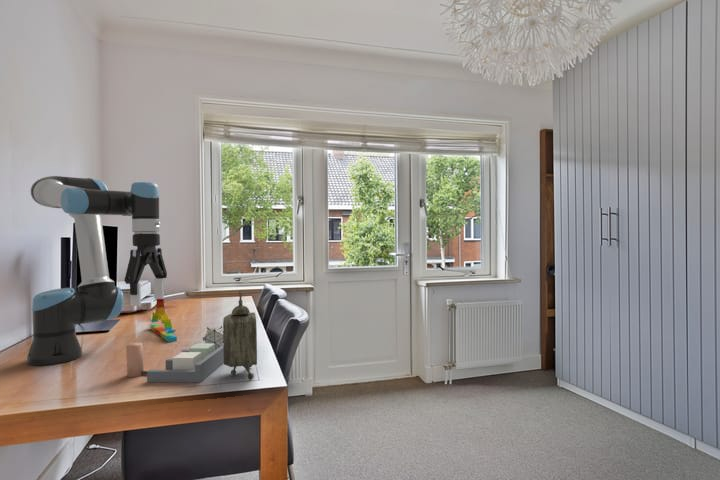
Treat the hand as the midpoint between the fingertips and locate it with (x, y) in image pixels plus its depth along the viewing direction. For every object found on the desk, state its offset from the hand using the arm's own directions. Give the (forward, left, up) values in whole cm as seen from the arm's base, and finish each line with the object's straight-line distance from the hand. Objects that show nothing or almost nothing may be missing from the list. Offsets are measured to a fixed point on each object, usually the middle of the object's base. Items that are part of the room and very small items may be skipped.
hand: (148, 302), depth 131 cm
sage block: (+14, +6, -21) cm, 26 cm away
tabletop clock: (+30, -3, -21) cm, 37 cm away
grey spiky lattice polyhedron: (+11, +24, -21) cm, 34 cm away
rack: (+12, +1, -21) cm, 24 cm away
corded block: (+6, -4, -21) cm, 22 cm away
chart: (-20, +46, -22) cm, 54 cm away
